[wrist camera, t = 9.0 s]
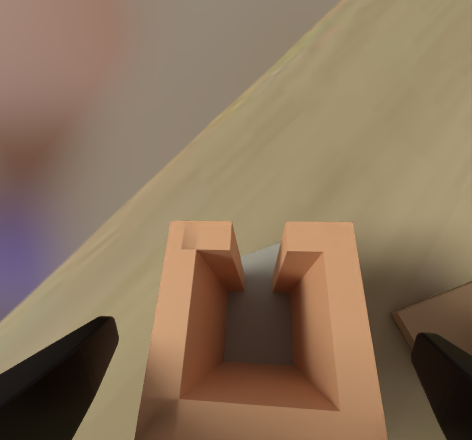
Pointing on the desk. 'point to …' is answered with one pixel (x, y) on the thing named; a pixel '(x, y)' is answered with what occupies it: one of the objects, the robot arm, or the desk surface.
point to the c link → (257, 374)
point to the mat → (259, 315)
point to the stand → (440, 317)
